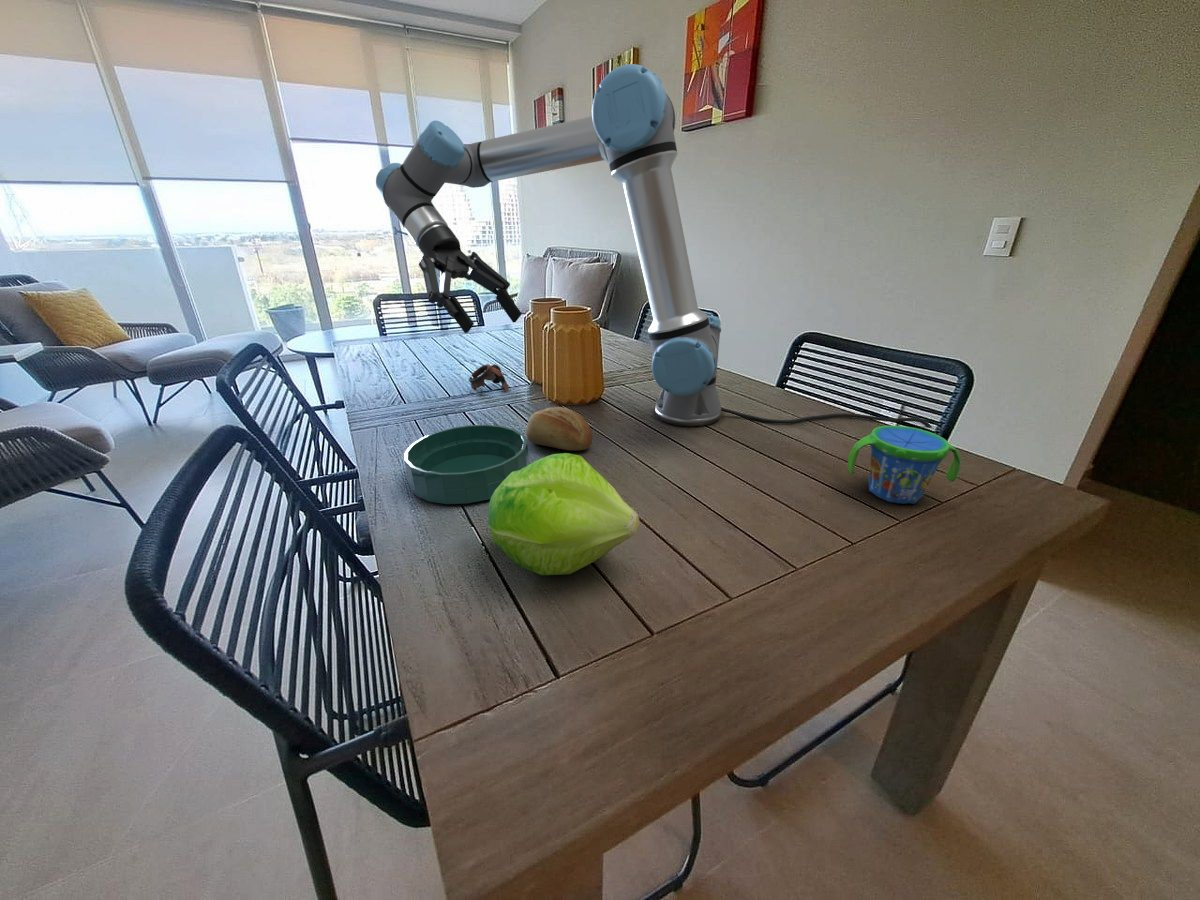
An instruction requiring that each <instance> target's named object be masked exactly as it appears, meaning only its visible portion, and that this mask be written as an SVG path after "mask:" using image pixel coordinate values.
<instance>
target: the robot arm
mask: <svg viewBox="0 0 1200 900" xmlns="http://www.w3.org/2000/svg"><path fill="white" fill-rule="evenodd" d="M675 129H676V111H675V107H674V105H673V102H672V100H671V98H670V97H669V95H668V94H667V93H666V90H665V86H664V84H663V82H662V81H661V79H660V77H659V76H658V75H657V74H656V73H655V72H653V71H652V70H650V69H648V68H647V67H645V66H643V65H640V64H637V63H628V64H627V63H626V64H622V65H619V66H618V67H615V68H614V69H612V70H611V71H610V72H608V73H607V74H606V75H605V76H604V77H603V79H602V80H601V82H600V83H599V85H598V87H597V88H596V91H595V93H594V96H593V100H592V105H591V116H587V117H581V118H577V119H573V120H569V121H564V122H560V123H556V124H551V125H547V126H542V127H538V128H533V129H529V130H524V131H519V132H516V133H511V134H507V135H502V136H498V137H493V138H489V139H485V140H482V141H476V142H471V143H467V144H464V142H463V140H462V139H461V138H460V136H459V135H458V134H457V133H456V132H455V131H454V130H453V129H452V128H450V126H448V125H446V124H445V123H443V122H442V121H439V120H432V121H430V122H429V123H428V124H427V126H426V127H425V129H424V130H423V131H422V132H421V133H420V134H419V136H418V138H417V140H416V141H415V143H414V145H413V146H412V148H411V149H410V151H409V153H408V154H407V156H406V158H405V159H404V161H403V162H402V163H400V162H391V163H388V164H386V165H385V167H384V168H381V169H380V170H379V171H378V172H377V174H376V177H375V187H376V189H377V192H378V194H379V195H380V197H381V198H382V199H383V202H384V203H385V205H386V207H387V208H388V209H390V211H391V212H392V213H393V215H394V216H395V218H396V219H397V220H398V222H399V223H400V224H401V226H402V227H403V229H404V230H405V232H406V233H407V234H408V236H409V237H410V239H411V240H412V241H413V244H415V245H416V247H417V248H418V250H419V252H420V253H421V254H422V256H421V258H420V260H419V262H418V267H419V268H420V270H421V271H422V274H423V279H424V285H425V289H426V294H427V299H428V302H429V303H430V304H433V305H434V304H435V303H436V306H437V307H438V308H440V309H442V308H444V309H445V311H446V312H447V314H448V315H449V316H450V317H451V318H453V319H454V320H455V321H456V323H457V324H458V326H459V328H461V330H462V331H463V333H464V334H469V332H470V331H471V329H472V328H473V327H474V325H475V322H474V321H473V320H472V318H471V317H470V316H469V314H468V312H466V310H465V309H464V307H463V306H462V305H461V303H460V302H459V301H458V299H457V297H456V296H455V295H451V285H452V280H456V279H465V280H467V281H473V282H474V283H476V284H478V285H479V286H481V287H483V288H484V289H486V290H487V291H489V292H491V293H492V294H494V295H495V299H496V301H497V302H498V304H499V305H500V307H501V308H502V309H503V311H504V312H505V313H506V315H507V316H508V317H509V319H510V321H511V322H512V323H516V322H517V321H518V320H519V318H520V317H521V316H522V315H523V313H522V312H521V310H520V309H519V308H518V306H517V305H516V303H515V301H514V299H513V297H512V296H511V295H510V293H509V292H508V289H509V287H510V286H511V283H510V281H508V280H507V279H506V278H504V277H503V276H502V275H501V274H500V273H499V272H497V271H496V270H495V269H494V268H492V266H490V265H489V264H487V262H485V261H484V260H483V259H482V258H481V257H480V256H479V255H478V253H477V252H476V251H472V252H471V253H470V254H468V255H467V254H466V253H464V251H462V248H461V242H460V240H459V238H458V237H457V236H456V234H455V233H454V232H453V230H452V229H451V227H449V225H448V223H447V221H446V220H445V218H444V217H443V216H442V215H441V213H440V212H439V210H438V209H437V208H436V206H435V205H434V203H433V202H432V201H433V199H434V197H436V196H437V195H438V193H439V191H440V190H441V189H442V187H443V186H444V185H445V184H449V185H458V186H464V187H468V188H473V189H476V188H483V187H485V186H487V185H489V184H490V183H494V182H498V181H502V180H509V179H514V178H518V177H524V176H529V175H534V174H539V173H544V172H545V173H546V172H551V171H554V170H561V169H565V168H570V167H571V168H572V167H576V166H581V165H586V164H592V163H597V162H602V161H605V162H606V163H608V166H609V170H610V174H611V177H612V178H614V180H617V182H619V183H621V185H622V188H623V192H624V193H623V194H624V196H625V200H626V205H627V209H628V214H629V218H630V223H631V227H632V231H633V236H634V237H633V238H634V241H635V246H636V249H637V253H638V258H639V259H638V260H639V262H640V267H641V271H642V276H643V280H644V285H645V288H646V293H647V298H648V302H649V307H650V310H651V314H652V322H651V324H650V326H649V327H648V329H647V335H648V338H649V342H650V343H649V344H650V347H651V352H652V357H651V367H650V368H651V373H652V378H653V379H654V382H656V384H657V385H658V386H659V387H660V389H661V390H660V393H659V396H658V397H655V407H654V408H655V412H654V413H655V416H656V418H657V419H658V420H660V421H661V422H664V423H666V424H670V425H674V426H679V427H702V426H703V427H704V426H708V425H712V424H714V423H717V422H718V421H720V420H721V418H722V412H723V413H726V414H730V415H734V416H737V417H741V418H745V419H748V420H749V419H750V420H753V421H757V422H762V423H769V424H779V425H780V424H783V425H784V424H785V425H787V424H797V423H802V422H807V421H814V420H822V419H831V418H857V419H865V420H872V421H878V422H888V423H900V422H901V423H902V422H916V423H920V424H922V425H923V426H925V427H926V428H929V429H932V428H933V427H932V425H931V424H930V423H929V422H928V421H926V420H924V419H922V418H920V417H896V418H895V417H882V416H875V415H867V414H861V413H846V412H845V413H844V412H841V413H825V414H818V415H811V416H804V417H800V418H792V419H772V418H764V417H759V416H755V415H751V414H746V413H743V412H739V411H735V410H732V409H729V408H725V407H722V405H721V401H720V397H719V394H718V393H719V392H718V389H717V371H718V363H719V350H720V349H719V348H720V337H721V332H722V328H721V325H722V324H721V323H722V322H721V318H720V317H719V316H715V315H709V314H708V313H706V312H704V311H702V309H700V308H699V307H698V301H697V296H696V290H695V286H694V280H693V274H692V269H691V265H690V260H689V256H688V255H689V254H688V249H687V244H686V238H685V234H684V229H683V224H682V218H681V213H680V207H679V203H678V197H677V193H676V187H675V183H674V176H673V172H672V167H673V164H674V162H675V160H676V158H677V157H678V149H677V144H676V138H675V137H676V136H675ZM436 270H437V271H439V272H440V273H439V282H438V277H437V274H436V273H437V272H436ZM450 295H451V296H450Z"/></svg>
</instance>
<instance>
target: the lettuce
mask: <svg viewBox="0 0 1200 900" xmlns="http://www.w3.org/2000/svg"><path fill="white" fill-rule="evenodd" d="M487 525H488V529H489V532H490V535H491V538H492V541H493V542H494V544H495V545H496V546H497V547H498V548H499V549H500V550H501V551H502V552H503V553H504V554H505V555H506V556H507V558H509V560H510V561H512V563H513V564H514V565H516V566H518V567H521V568H523V569H525V570H528V571H531V572H533V573H535V574H538V575H540V576H555V575H556V576H559V575H571V574H573V573H575V572H578V571H579V570H581V569H583V568H585V567H587V566H589V565H591V564H592V563H594V562H596V561H597V560H599V559H600V558H602V557H603V556H605V555H606V554H608V553H609V552H610V551H612V550H613V549H614V548H615V547H617V546H619V545H621V544H622V543H624V542H625V541H627V540H629V539H630V538H632V537H633V536H634V535H635V534H636V533H637V532H638V530H639V528H640V517H639V515H638V514H637V512H636V511H635V509H633V508H632V507H631V506H630V505H629V504H628V503H627V502H626V501H625V500H624V499H623V498H622V497H621V496H620V494H619V493H618V491H617V490H616V489H615V488H614V487H613V486H612V485H611V484H610V482H609V481H608V480H607V479H606V478H605V477H603V476H602V474H601V473H599V472H598V471H597V470H596V469H594V468H593V466H592V465H590V463H588V462H587V461H586V460H585V459H584V457H582V456H581V455H580V454H574V453H569V452H562V453H552V454H550V455H546V456H544V457H541V458H538V459H536V460H534V461H532V462H531V463H529V465H528V466H526V467H524V468H522V469H521V470H517V471H513V472H512V473H511V474H510V475H509V476H508V477H507V478H506V479H505V480H504V481H503V482H502V483H501V484H500V485H499V486H498V487H497V489H496V490H495V491H494V493H493V495H492V497H491V499H489V504H488V518H487Z"/></svg>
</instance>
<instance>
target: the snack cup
mask: <svg viewBox="0 0 1200 900" xmlns="http://www.w3.org/2000/svg"><path fill="white" fill-rule="evenodd" d="M867 446H870V460H869V473H868V474H869V475H868V491H869V492H870V493H872V494H873V495H875V496H876V497H878V498H879V499H881V500H884V501H886V502H888V503H895V504H903V505H904V504H905V505H907V504H912V505H915V504H916V503H917V502H918V501H920V500H921V499H922V498H923V496H924V494H925V492H926V491H927V489H928V487H929V485H930V483H931V481H932V479H933V477H934V475H935V473H936V472H937V470H938V467H939V465H940V463H941V462H942V461H943V460H944V459H945V458H946V457H947V456H948V454H949V451H951V452H952V453H953V460H952V461H951V464H950V465H949V468H948V469H947V471H946V473H945V477H946V479H947V480H948V481H949V482H953V483H954V482H955V481H956V480H957V478H958V477H959V475H960V471H961V465H962V458H961V454H960V452H959V450H958V449H957V448H955V446H954V445H952V443H951V444H950V443H949V441H948V440H947V439H946V438H944V437H942V436H940V435H938V434H936V433H934V432H931V431H928V430H924V429H921V428H917V427H912V426H905V425H881V426H877V427H875V428H873V429H872V431H871V432H870V433H869V434H868V435H866V436H863V437H862V438H860V439H859V440H858V441H856V443H855V444H854V445H853V446H852V448H851V449H850V451H849V454H848V456H847V469H848V471H849V473H850V474H851V475H853V474H854V473H855V472H854V471H855V470H854V468H855V465H856V461H857V458H858V455H859V452H860V450H862V449H863V448H865V447H867Z"/></svg>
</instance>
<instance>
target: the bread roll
mask: <svg viewBox="0 0 1200 900" xmlns="http://www.w3.org/2000/svg"><path fill="white" fill-rule="evenodd" d="M525 436H526V438H527V440H528V441H529V442H530V443H532V444H535V445H539V446H545V447H550V448H555V449H559V450H560V449H561V450H563V451H575V452H578V451H582V450H587V449H589V448H590V447H591V445H593V439H594V438H593V437H594V435H593V432H592V428H591V426H590V424H589V422H588V421H587V420H586V419H585V418H584V417H583V415H580V414H579V413H578V412H576V411H574V410H572V409H570V408H568V407H563V406H552V407H546V408H543V409H539V410H537V411H535V412H533V413H532V414H531V415H530V416H529V419H528V421H527V424H526V428H525Z"/></svg>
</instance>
